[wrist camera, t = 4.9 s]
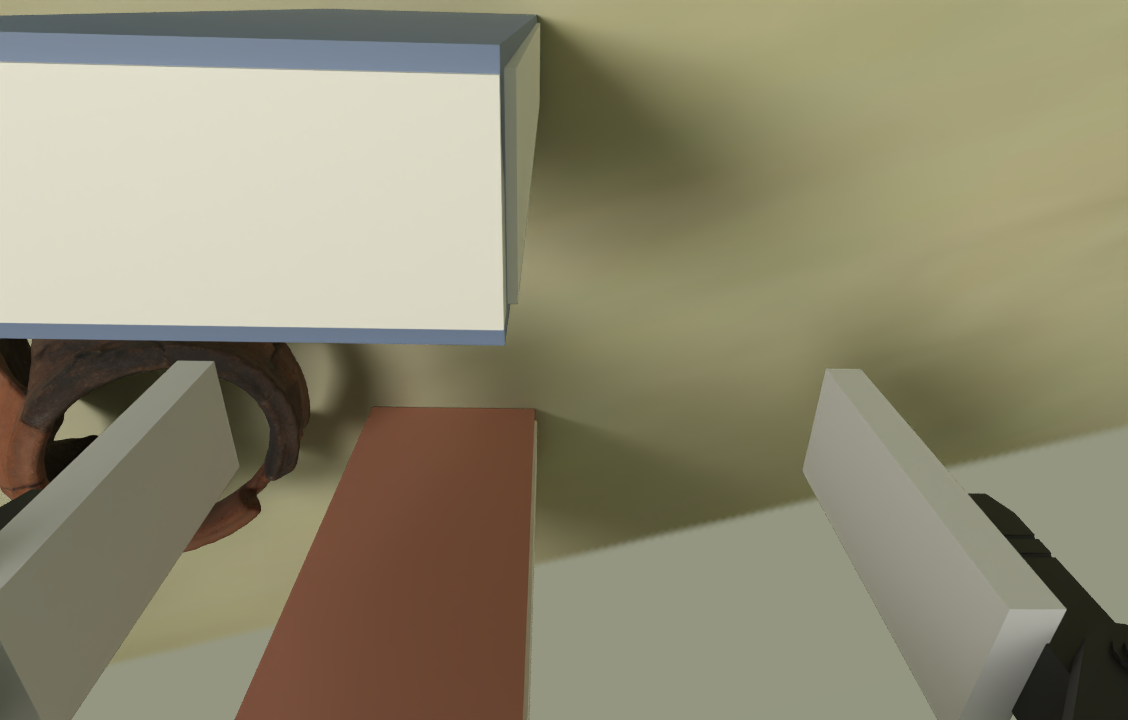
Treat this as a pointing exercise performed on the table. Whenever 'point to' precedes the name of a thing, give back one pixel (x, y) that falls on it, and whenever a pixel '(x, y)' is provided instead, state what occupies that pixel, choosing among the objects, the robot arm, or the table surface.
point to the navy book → (265, 175)
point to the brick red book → (415, 578)
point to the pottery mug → (77, 366)
